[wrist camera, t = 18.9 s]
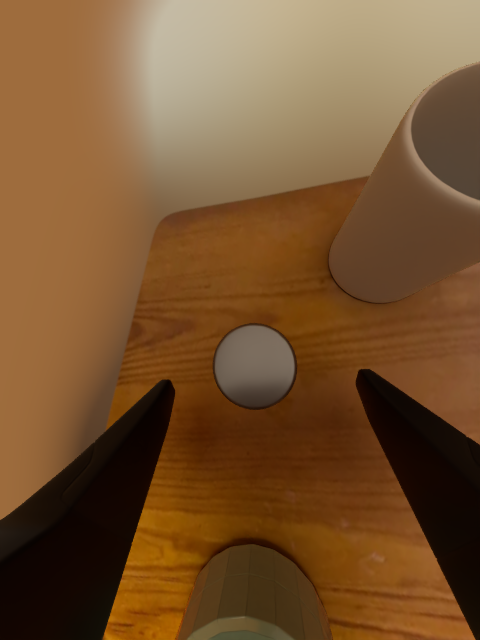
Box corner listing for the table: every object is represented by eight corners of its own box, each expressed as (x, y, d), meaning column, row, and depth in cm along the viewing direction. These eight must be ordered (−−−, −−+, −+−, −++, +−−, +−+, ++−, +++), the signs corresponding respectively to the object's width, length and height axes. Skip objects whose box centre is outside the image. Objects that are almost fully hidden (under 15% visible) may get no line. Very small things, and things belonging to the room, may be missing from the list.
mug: (383, 323, 17) (567, 261, 7) (308, 264, 19) (360, 145, 9) (469, 232, 18) (761, 46, 7) (389, 185, 20) (527, -14, 10)
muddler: (289, 381, 17) (340, 423, 5) (245, 389, 18) (200, 448, 6) (278, 337, 18) (301, 288, 6) (236, 346, 19) (182, 316, 7)
